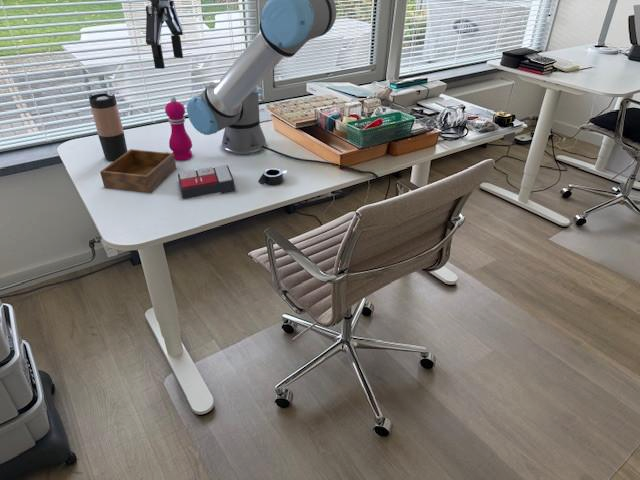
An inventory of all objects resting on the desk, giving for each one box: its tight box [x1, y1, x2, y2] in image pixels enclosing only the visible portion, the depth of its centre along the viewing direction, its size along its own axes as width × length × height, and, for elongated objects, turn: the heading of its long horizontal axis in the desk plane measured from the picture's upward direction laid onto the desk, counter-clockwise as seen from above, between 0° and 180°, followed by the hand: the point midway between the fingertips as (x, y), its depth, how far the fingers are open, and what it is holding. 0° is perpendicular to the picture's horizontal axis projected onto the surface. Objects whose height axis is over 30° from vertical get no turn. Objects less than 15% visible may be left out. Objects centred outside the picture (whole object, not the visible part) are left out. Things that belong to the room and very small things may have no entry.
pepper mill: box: [164, 96, 193, 162], centre depth 147 cm, size 7×7×20 cm
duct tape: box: [257, 167, 288, 187], centre depth 139 cm, size 8×10×3 cm
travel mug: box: [88, 93, 128, 163], centre depth 146 cm, size 8×8×20 cm
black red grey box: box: [177, 164, 236, 200], centre depth 135 cm, size 11×4×15 cm
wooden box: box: [99, 148, 177, 194], centre depth 138 cm, size 15×17×5 cm
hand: (169, 62), depth 142 cm, fingers open, 13 cm apart
